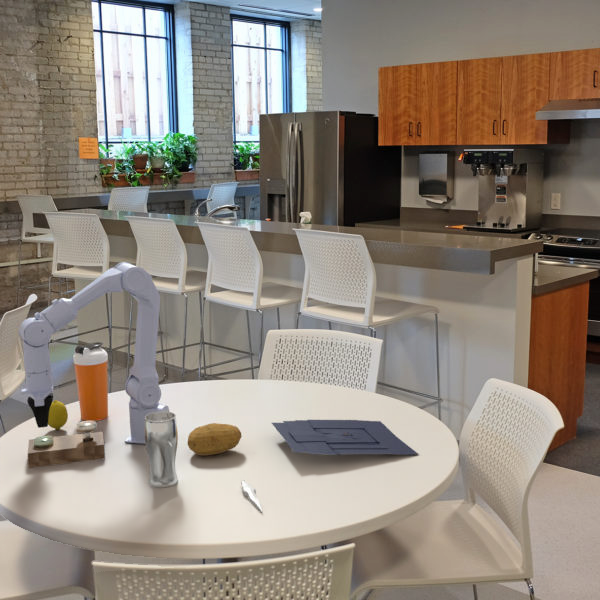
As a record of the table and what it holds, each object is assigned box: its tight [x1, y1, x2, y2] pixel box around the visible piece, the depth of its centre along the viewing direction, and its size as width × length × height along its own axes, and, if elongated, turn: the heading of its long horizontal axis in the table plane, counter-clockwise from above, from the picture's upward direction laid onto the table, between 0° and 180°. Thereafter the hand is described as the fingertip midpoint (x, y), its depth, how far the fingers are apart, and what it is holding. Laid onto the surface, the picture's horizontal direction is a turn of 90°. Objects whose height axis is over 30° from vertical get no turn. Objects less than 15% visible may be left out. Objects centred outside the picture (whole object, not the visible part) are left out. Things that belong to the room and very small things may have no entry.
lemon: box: [48, 399, 69, 431], centre depth 209 cm, size 6×6×8 cm
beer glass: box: [145, 411, 179, 488], centre depth 175 cm, size 7×7×15 cm
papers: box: [271, 419, 419, 456], centre depth 196 cm, size 24×30×4 cm
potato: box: [187, 422, 242, 456], centre depth 192 cm, size 9×13×7 cm
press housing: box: [27, 431, 106, 469], centre depth 191 cm, size 17×9×4 cm, turn 106°
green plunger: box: [33, 435, 54, 448], centre depth 190 cm, size 4×4×4 cm
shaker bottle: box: [72, 341, 109, 422], centre depth 217 cm, size 9×9×20 cm
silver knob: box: [76, 420, 98, 442], centre depth 192 cm, size 4×4×4 cm
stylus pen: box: [240, 479, 264, 513], centre depth 167 cm, size 15×3×2 cm, turn 19°
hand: (42, 426), depth 189 cm, fingers closed
